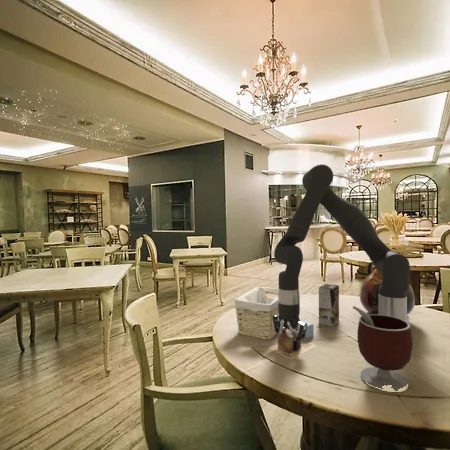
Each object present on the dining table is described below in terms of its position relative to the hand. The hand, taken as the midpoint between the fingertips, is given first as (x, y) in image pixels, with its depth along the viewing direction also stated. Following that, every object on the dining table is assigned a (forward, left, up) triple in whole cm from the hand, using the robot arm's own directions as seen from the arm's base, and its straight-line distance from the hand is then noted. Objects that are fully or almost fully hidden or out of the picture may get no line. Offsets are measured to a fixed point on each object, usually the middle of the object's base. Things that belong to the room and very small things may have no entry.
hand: (289, 347), depth 107 cm
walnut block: (0, 0, 0) cm, 0 cm away
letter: (0, -1, 0) cm, 2 cm away
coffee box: (+4, -33, -1) cm, 34 cm away
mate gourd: (-30, -3, -1) cm, 30 cm away
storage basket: (+20, -8, -1) cm, 21 cm away
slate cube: (+3, -13, -1) cm, 14 cm away
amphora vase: (-12, -53, -1) cm, 55 cm away
